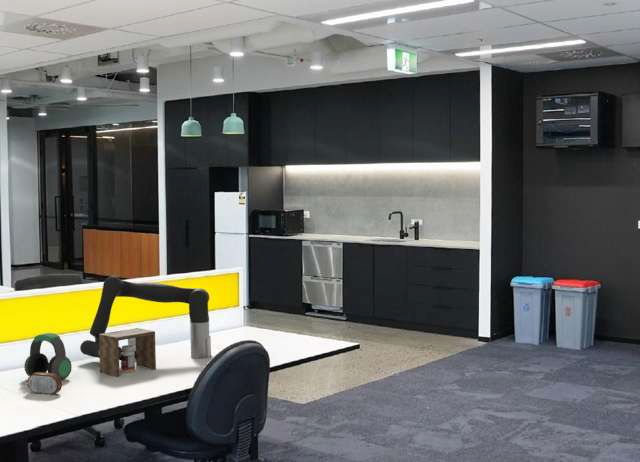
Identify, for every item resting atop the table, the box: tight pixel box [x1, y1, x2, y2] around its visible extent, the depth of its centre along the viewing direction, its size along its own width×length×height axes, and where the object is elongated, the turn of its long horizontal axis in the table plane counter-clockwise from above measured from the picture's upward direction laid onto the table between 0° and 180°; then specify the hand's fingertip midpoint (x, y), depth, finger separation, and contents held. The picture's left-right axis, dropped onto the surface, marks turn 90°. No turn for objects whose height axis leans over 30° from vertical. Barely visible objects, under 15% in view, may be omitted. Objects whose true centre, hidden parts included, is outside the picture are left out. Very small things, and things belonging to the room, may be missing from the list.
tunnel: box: [99, 327, 157, 378], centre depth 363 cm, size 14×20×18 cm
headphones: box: [23, 332, 72, 381], centre depth 350 cm, size 19×11×20 cm, turn 65°
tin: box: [27, 372, 63, 395], centre depth 324 cm, size 15×3×8 cm, turn 71°
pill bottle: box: [120, 344, 136, 373], centre depth 364 cm, size 6×6×11 cm
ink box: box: [127, 338, 136, 351], centre depth 397 cm, size 9×5×12 cm, turn 56°
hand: (130, 357), depth 362 cm, fingers closed on pill bottle, 6 cm apart
